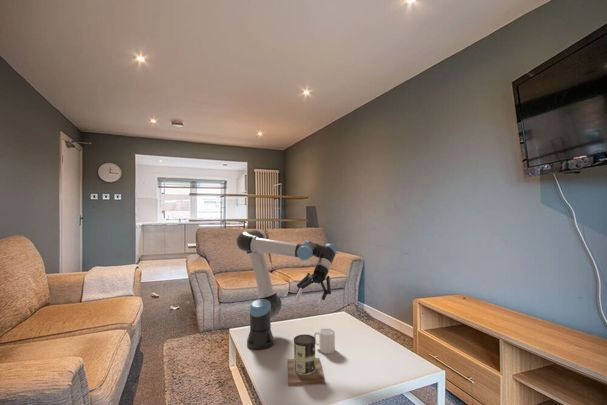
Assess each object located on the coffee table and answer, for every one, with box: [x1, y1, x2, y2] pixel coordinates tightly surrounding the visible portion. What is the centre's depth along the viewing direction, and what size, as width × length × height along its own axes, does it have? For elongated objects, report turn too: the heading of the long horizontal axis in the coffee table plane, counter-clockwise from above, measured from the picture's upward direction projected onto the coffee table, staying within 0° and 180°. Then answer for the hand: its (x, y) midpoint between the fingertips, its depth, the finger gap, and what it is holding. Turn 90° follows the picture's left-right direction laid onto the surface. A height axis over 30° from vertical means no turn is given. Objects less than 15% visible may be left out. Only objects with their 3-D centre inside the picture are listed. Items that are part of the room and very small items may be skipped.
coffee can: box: [293, 333, 316, 375], centre depth 137 cm, size 10×10×14 cm
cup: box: [313, 327, 336, 355], centre depth 159 cm, size 8×12×10 cm
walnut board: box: [286, 357, 326, 386], centre depth 137 cm, size 20×16×1 cm
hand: (307, 302), depth 151 cm, fingers open, 13 cm apart
